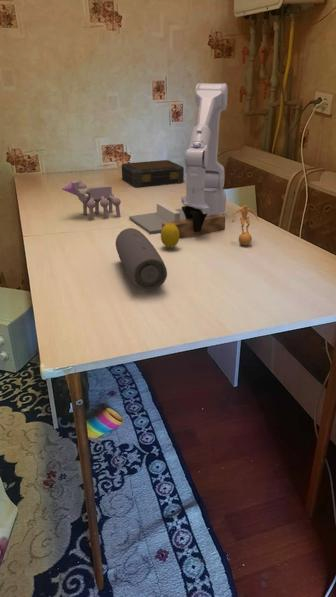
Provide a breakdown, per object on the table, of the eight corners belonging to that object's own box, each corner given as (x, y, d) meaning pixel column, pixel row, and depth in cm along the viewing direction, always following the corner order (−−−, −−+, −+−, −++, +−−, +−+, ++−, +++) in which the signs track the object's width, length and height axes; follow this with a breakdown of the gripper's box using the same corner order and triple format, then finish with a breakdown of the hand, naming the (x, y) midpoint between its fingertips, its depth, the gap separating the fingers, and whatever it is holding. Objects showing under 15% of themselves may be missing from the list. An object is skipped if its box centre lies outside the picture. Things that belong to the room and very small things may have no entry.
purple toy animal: (67, 224, 152) (62, 184, 146) (62, 217, 161) (57, 179, 155) (122, 217, 159) (120, 179, 153) (114, 211, 167) (111, 174, 162)
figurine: (234, 248, 132) (236, 209, 126) (227, 241, 137) (230, 203, 132) (260, 246, 133) (264, 207, 128) (252, 239, 139) (256, 202, 133)
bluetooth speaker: (169, 293, 106) (169, 254, 101) (132, 298, 104) (130, 258, 99) (146, 258, 125) (146, 224, 121) (114, 261, 123) (112, 227, 118)
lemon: (181, 246, 133) (181, 220, 130) (175, 252, 129) (176, 226, 125) (164, 244, 135) (164, 219, 131) (158, 250, 130) (157, 224, 127)
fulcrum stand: (183, 211, 166) (183, 198, 164) (207, 224, 152) (208, 210, 149) (129, 219, 157) (128, 205, 155) (150, 234, 143) (150, 219, 141)
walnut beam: (218, 227, 150) (219, 213, 147) (224, 230, 147) (225, 216, 145) (161, 238, 140) (161, 223, 138) (167, 241, 138) (167, 226, 135)
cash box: (167, 174, 223) (167, 159, 219) (184, 183, 206) (185, 166, 203) (120, 179, 214) (119, 163, 210) (134, 188, 197) (134, 171, 194)
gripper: (173, 184, 141) (173, 225, 147) (196, 194, 129) (194, 238, 135) (192, 182, 143) (191, 222, 150) (216, 192, 132) (214, 234, 138)
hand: (194, 229), depth 143 cm, fingers closed on walnut beam, 4 cm apart
